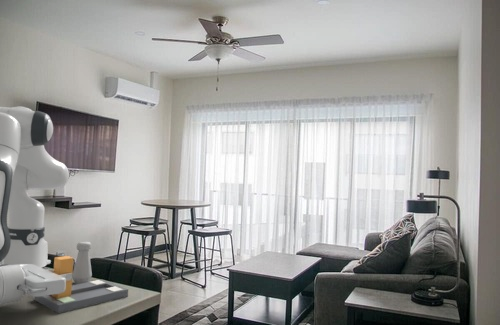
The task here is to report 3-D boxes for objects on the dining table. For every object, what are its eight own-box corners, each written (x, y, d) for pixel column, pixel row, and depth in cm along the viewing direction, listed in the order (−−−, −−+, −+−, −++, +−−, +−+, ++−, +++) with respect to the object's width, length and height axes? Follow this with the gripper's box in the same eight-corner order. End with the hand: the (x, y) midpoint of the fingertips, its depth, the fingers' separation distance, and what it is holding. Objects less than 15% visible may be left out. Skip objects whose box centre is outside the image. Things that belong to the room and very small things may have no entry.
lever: (51, 298, 102) (54, 257, 103) (64, 295, 105) (67, 255, 106) (57, 301, 100) (60, 259, 101) (70, 298, 103) (73, 258, 103)
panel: (34, 299, 104) (34, 291, 104) (101, 285, 120) (102, 278, 120) (58, 313, 95) (58, 304, 95) (127, 296, 111) (128, 288, 111)
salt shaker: (83, 286, 118) (86, 244, 119) (67, 284, 119) (70, 242, 120) (94, 281, 124) (97, 241, 124) (79, 279, 125) (82, 240, 126)
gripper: (28, 279, 87) (86, 269, 97) (-5, 263, 99) (50, 256, 110) (26, 307, 86) (85, 294, 97) (-6, 287, 99) (48, 278, 110)
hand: (66, 274), depth 104 cm, fingers closed on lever, 3 cm apart
